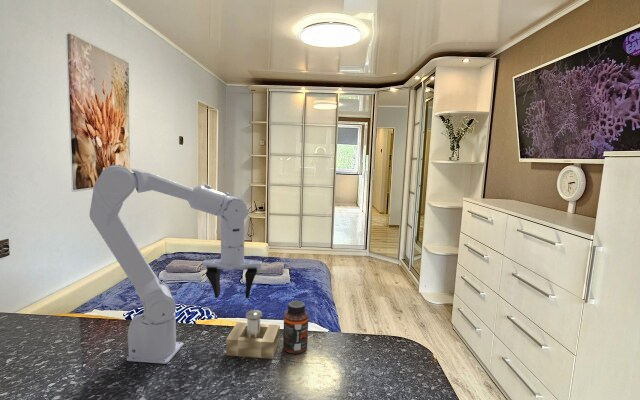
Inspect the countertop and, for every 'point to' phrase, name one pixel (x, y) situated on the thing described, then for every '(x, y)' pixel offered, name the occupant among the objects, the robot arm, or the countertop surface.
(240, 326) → the hole block
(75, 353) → the countertop surface
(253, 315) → the pin
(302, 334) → the supplement bottle
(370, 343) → the countertop surface
